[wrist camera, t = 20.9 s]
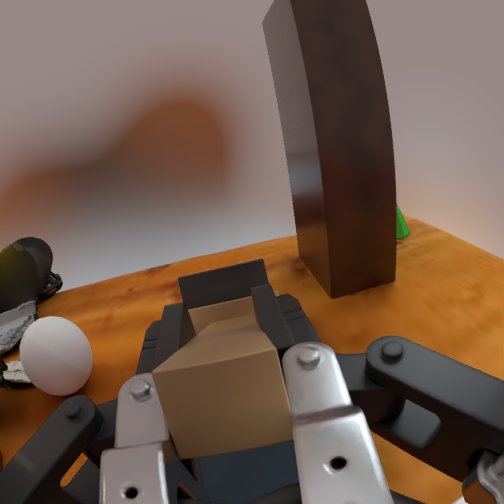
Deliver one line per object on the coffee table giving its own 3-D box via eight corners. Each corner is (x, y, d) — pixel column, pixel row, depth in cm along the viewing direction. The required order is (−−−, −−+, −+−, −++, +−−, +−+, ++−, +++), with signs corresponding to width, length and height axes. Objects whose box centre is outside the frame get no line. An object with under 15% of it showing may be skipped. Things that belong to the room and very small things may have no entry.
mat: (171, 524, 11) (164, 520, 11) (177, 344, 28) (174, 336, 27) (380, 482, 12) (383, 476, 12) (299, 318, 29) (298, 310, 28)
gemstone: (390, 242, 41) (389, 202, 38) (367, 230, 46) (365, 194, 44) (418, 233, 42) (418, 195, 39) (394, 223, 47) (394, 188, 45)
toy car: (64, 278, 44) (69, 295, 46) (38, 254, 49) (43, 270, 51) (37, 293, 40) (44, 311, 42) (15, 266, 44) (21, 282, 46)
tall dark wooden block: (331, 298, 31) (285, -19, 18) (299, 255, 42) (261, 22, 30) (395, 280, 31) (361, -13, 19) (351, 244, 42) (320, 21, 30)
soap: (60, 364, 26) (57, 357, 26) (42, 388, 22) (38, 381, 22) (8, 364, 26) (5, 358, 26) (-10, 383, 22) (-13, 377, 22)
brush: (103, 462, 5) (49, 239, 5) (201, 346, 22) (187, 283, 23) (381, 411, 5) (327, 172, 6) (277, 329, 23) (262, 266, 24)
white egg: (41, 295, 19) (5, 375, 15) (114, 343, 23) (84, 418, 19) (35, 304, 26) (9, 361, 22) (89, 339, 30) (65, 394, 26)
